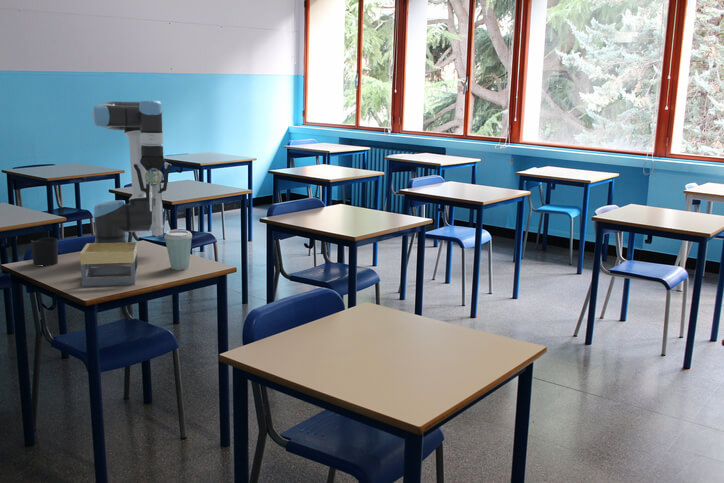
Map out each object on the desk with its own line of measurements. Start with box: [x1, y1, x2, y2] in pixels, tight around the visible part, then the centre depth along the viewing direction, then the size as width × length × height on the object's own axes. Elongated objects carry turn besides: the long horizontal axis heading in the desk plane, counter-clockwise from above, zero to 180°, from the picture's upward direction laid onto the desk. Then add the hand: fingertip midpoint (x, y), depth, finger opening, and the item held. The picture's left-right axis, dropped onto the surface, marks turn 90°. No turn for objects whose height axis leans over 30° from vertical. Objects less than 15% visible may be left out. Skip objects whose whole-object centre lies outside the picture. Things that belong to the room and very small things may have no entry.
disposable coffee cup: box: [163, 229, 193, 271], centre depth 260 cm, size 11×11×15 cm
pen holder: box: [30, 237, 59, 267], centre depth 263 cm, size 9×9×10 cm
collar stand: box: [79, 241, 139, 288], centre depth 242 cm, size 18×18×12 cm
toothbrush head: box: [144, 168, 165, 238], centre depth 241 cm, size 5×7×25 cm
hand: (154, 210), depth 242 cm, fingers closed on toothbrush head, 1 cm apart
